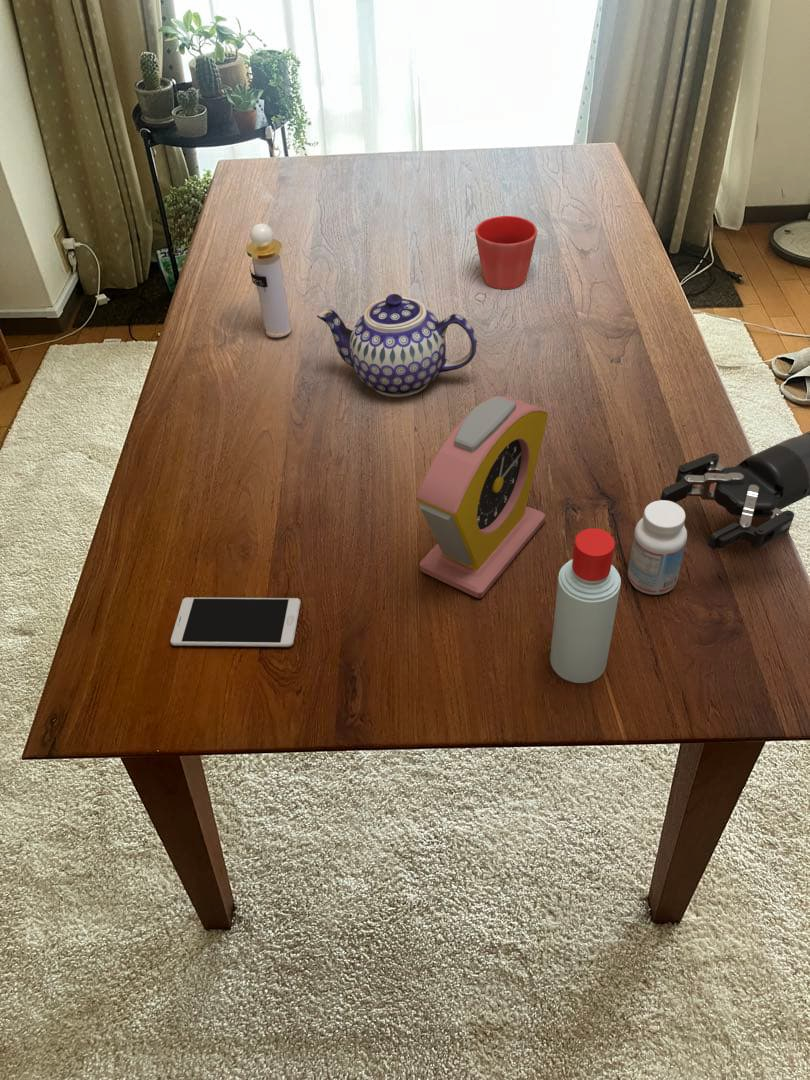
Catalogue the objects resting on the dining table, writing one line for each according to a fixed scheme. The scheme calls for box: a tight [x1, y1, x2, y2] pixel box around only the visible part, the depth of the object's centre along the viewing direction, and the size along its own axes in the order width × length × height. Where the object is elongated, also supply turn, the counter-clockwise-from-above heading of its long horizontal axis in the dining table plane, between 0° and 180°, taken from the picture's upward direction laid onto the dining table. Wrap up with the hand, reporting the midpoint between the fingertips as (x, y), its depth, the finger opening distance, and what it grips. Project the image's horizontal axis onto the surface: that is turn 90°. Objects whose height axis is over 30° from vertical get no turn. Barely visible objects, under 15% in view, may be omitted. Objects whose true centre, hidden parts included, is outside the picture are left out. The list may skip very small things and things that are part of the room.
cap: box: [572, 527, 616, 581], centre depth 90 cm, size 4×4×4 cm
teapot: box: [316, 293, 478, 398], centre depth 139 cm, size 25×15×15 cm, turn 76°
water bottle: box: [549, 558, 622, 684], centre depth 96 cm, size 6×6×19 cm
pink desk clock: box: [416, 395, 549, 599], centre depth 109 cm, size 22×9×22 cm, turn 145°
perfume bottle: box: [245, 222, 292, 338], centre depth 148 cm, size 6×6×20 cm
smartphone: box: [169, 596, 302, 648], centre depth 109 cm, size 8×1×15 cm
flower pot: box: [474, 215, 538, 290], centre depth 161 cm, size 11×11×10 cm
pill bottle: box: [627, 499, 688, 596], centre depth 107 cm, size 6×6×11 cm
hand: (686, 521), depth 107 cm, fingers open, 8 cm apart
